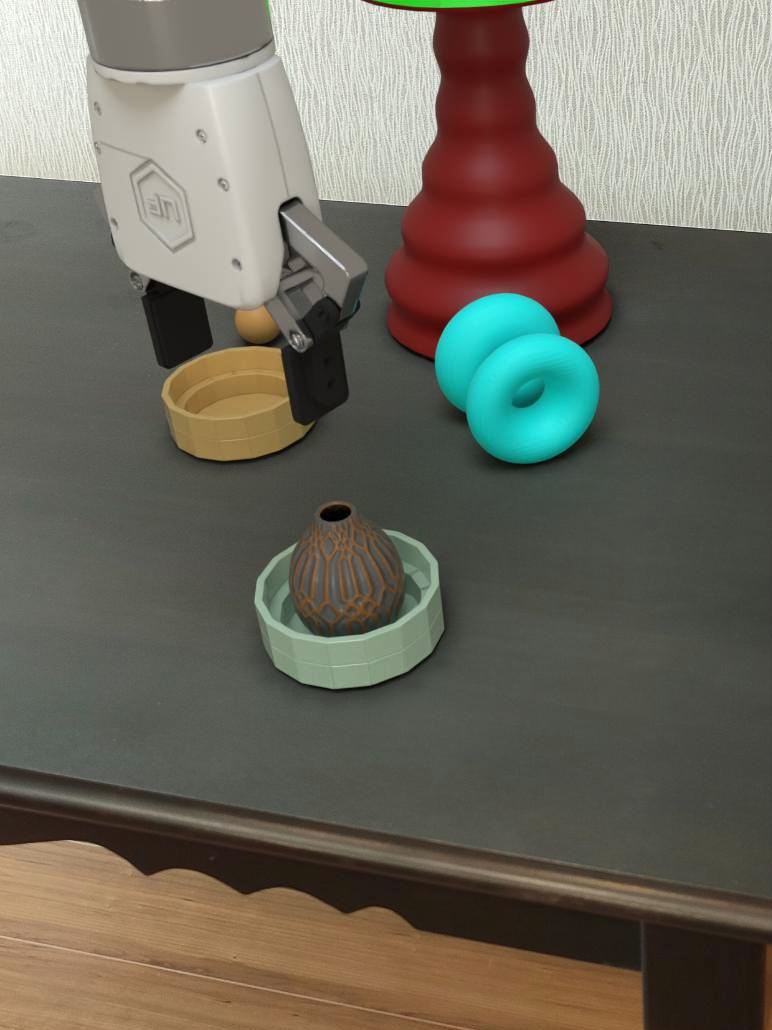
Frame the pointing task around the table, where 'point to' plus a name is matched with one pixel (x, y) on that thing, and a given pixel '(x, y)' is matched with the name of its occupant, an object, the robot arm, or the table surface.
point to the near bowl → (356, 654)
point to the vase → (345, 574)
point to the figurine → (256, 325)
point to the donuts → (516, 378)
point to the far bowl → (231, 405)
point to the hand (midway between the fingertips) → (252, 383)
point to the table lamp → (490, 191)
